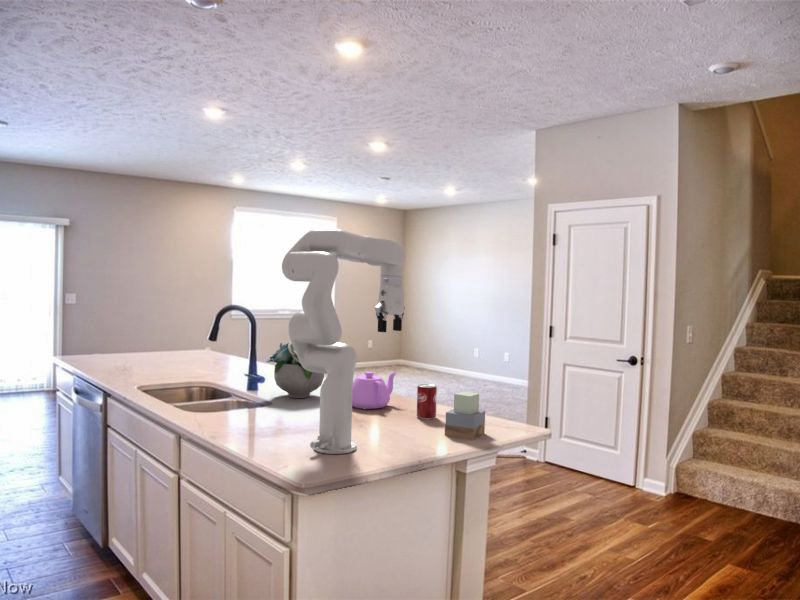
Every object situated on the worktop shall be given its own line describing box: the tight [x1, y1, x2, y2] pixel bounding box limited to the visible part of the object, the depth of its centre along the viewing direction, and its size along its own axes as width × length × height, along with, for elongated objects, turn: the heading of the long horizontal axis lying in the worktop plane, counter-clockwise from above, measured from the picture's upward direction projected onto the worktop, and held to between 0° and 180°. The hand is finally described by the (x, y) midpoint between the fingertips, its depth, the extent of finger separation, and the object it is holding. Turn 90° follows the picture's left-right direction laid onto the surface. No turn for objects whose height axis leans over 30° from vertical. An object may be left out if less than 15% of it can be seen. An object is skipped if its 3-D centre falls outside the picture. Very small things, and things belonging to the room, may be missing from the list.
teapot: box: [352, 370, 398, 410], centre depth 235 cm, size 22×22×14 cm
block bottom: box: [444, 422, 486, 441], centre depth 194 cm, size 10×10×4 cm
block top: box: [444, 408, 486, 429], centre depth 193 cm, size 10×10×4 cm
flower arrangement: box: [266, 341, 325, 399], centre depth 249 cm, size 25×25×24 cm
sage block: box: [453, 391, 480, 415], centre depth 193 cm, size 6×6×6 cm
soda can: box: [416, 383, 438, 420], centre depth 216 cm, size 7×7×12 cm
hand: (389, 331), depth 200 cm, fingers open, 9 cm apart
